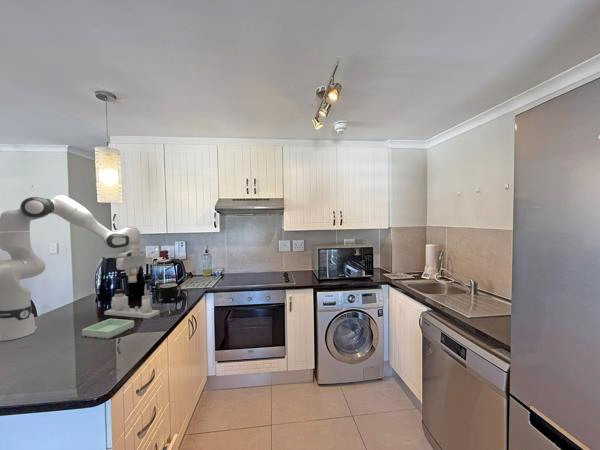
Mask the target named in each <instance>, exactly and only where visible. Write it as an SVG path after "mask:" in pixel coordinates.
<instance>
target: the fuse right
mask: <svg viewBox="0 0 600 450" xmlns="http://www.w3.org/2000/svg"><path fill="white" fill-rule="evenodd" d="M141 307H142V313H149V308H150V307H151V295H149V294H144V295H142V296H141Z"/></svg>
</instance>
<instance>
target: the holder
mask: <svg viewBox="0 0 600 450" xmlns="http://www.w3.org/2000/svg"><path fill="white" fill-rule="evenodd" d="M114 308H115V305H113V308H110V309H108V310H104V315H105V316H106V315H107V316H116V317H128V318H129V317H130V318H139V319H140V318H141V319H151V318H152V317H155V316H158V315H159V314H160V310H158V309H153V307H152V306H150V308H149V313H142V306H140V307H139V306H137V305H136V306H134V308H133V307H130V305H128V306H126V307H125V305H122V306H121V310H120V311H114Z"/></svg>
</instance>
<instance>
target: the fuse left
mask: <svg viewBox="0 0 600 450" xmlns="http://www.w3.org/2000/svg"><path fill="white" fill-rule="evenodd" d="M113 297H115V308H114V311H120V310H121V306H122V305H123V293H119V294H115V293H114V296H113Z"/></svg>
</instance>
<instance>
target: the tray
mask: <svg viewBox="0 0 600 450" xmlns="http://www.w3.org/2000/svg"><path fill="white" fill-rule="evenodd" d="M133 328H135V320H132V319H131V320H130V319H121V318H120V319H118V318H108V319H105V320H102V321H100V322H97V323H95V324H93V325H89V326H88V327H84V328H83V329H81V337H85V336H87V338H94V337H97V338H96V339H104V338H106V340H107V339H108V340H110V339H112V338H113V337H114V338H115V337H116V336H118V335H121V334H123V333H124V331H125V332H127V331H129V330H130V329H133ZM128 329H129V330H128ZM126 330H127V331H126ZM109 338H110V339H109Z"/></svg>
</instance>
